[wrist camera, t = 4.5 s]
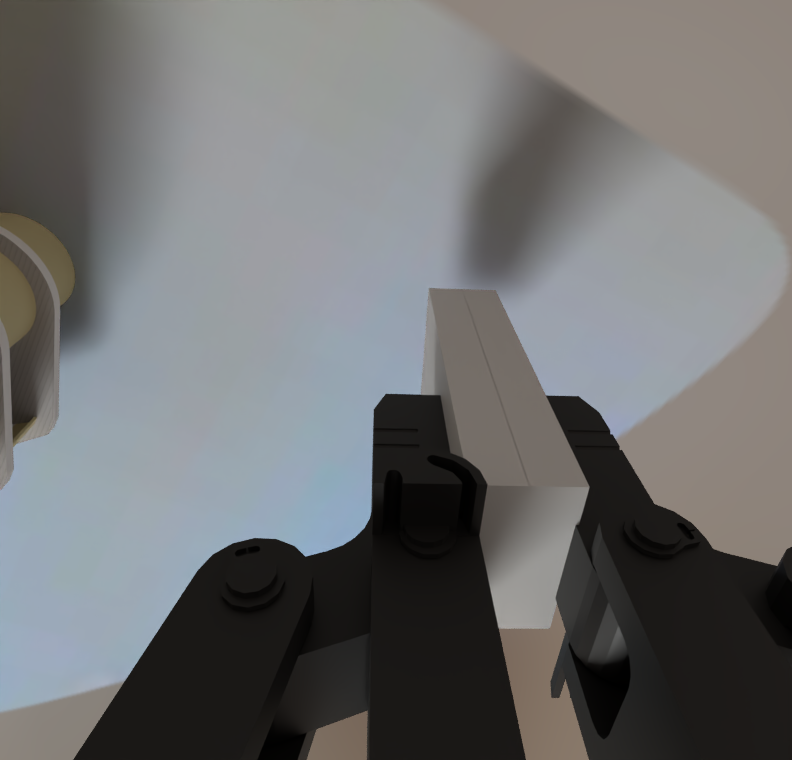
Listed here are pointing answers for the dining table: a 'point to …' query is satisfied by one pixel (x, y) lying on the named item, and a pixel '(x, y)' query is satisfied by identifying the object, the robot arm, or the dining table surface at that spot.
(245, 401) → the dining table surface
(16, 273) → the stacked layers on plate
